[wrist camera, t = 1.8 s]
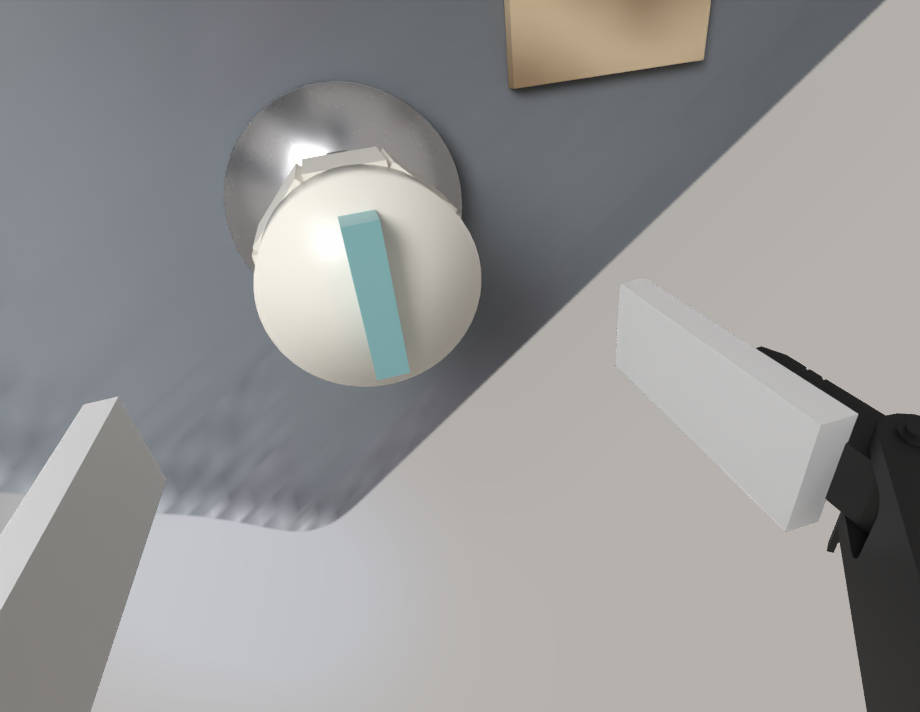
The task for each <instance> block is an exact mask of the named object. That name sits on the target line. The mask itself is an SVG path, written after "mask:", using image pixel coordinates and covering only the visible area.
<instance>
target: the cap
mask: <svg viewBox="0 0 920 712" xmlns="http://www.w3.org/2000/svg"><path fill="white" fill-rule="evenodd" d="M252 249H253V252H252V259H253V261H254V264H255V271H254V296H255V303H256V307H257V310H258V314H259V317H260V319H261V322H262V324H263V326H264V328H265V330H266V332H267V334H268V335H269V337H270V338H271V340H272V341H273V343H274V344H275V345H276V346H277V347H278V349H279V350H280V351H281V352H282V353H283V354H284V355H285V356H286V357H287V358H288V359H289V360H291V361H292V362H293V363H294V364H296V365H297V366H299V367H300V368H302V369H303V370H305V371H307V372H309V373H310V374H312V375H314V376H316V377H319V378H321V379H324V380H327V381H330V382H334V383H337V384H341V385H348V386H358V387H372V386H383V385H388V384H394V383H397V382H401V381H404V380H407V379H410V378H412V377H414V376H417V375H419V374H421V373H423V372H424V371H426V370H428V369H430V368H431V367H433V366H434V365H436V364H437V363H438V362H440V361H441V360H442V359H443V358H445V357H446V356H447V355H448V354H449V353H450V352H451V351H452V350H453V349H454V348H455V347H456V345H457V344H458V343H459V342H460V340H461V339H462V338H463V336H464V335H465V333H466V332H467V330H468V328H469V326H470V324H471V322H472V321H473V318H474V315H475V313H476V310H477V307H478V303H479V299H480V292H481V266H480V260H479V255H478V252H477V249H476V246H475V243H474V241H473V239H472V237H471V234H470V232H469V231H468V229H467V227H466V226H465V224H464V223H463V221H462V220H461V215H460V214H459V213H458V212H457V209H456V207H455V206H454V205H453V204H452V203H451V202H450V201H449V200H448V199H447V198H446V197H445V196H444V195H443V194H442V193H441V192H440V191H438V190H437V189H436V188H435V187H433V186H432V185H431V184H429V183H428V182H427V181H425V180H424V179H423V178H421V177H420V176H419V175H417V174H416V173H415V172H413V171H412V170H411V169H409V168H408V167H407V166H406V165H404V164H403V163H402V162H400V161H399V160H398V159H396V158H395V157H394V156H392V155H391V154H390V153H388V152H387V151H386V150H384V149H382V150H381V152H380V151H379V150H378V148H377V147H370V148H364V149H358V150H352V151H346V152H340V153H334V154H328V155H321V156H315V157H309V158H303V159H302V166H300V165H299V164H297V163H295V165H294V167H293V168H292V170H291V171H290V173H289V175H288V176H287V178H286V180H285V181H284V183H283V185H282V186H281V188H280V190H279V191H278V193H277V195H276V196H275V198H274V200H273V201H272V203H271V205H270V206H269V208H268V210H267V211H266V213H265V215H264V216H263V218H262V219H261V221H260V223H259V224H258V228H257V232H256V236H255V240H254V244H253V248H252Z"/></svg>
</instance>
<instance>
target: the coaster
mask: <svg viewBox="0 0 920 712" xmlns="http://www.w3.org/2000/svg"><path fill="white" fill-rule="evenodd" d="M710 5H711V0H504V8H505V27H506V46H507V65H508V83H509V88H512V89H517V88H523V87H530V86H536V85H543V84H549V83H556V82H562V81H569V80H575V79H582V78H588V77H595V76H601V75H608V74H614V73H621V72H627V71H634V70H641V69H647V68H654V67H660V66H667V65H673V64H680V63H686V62H693V61H699V60H704V53H705V45H706V37H707V29H708V21H709V13H710Z"/></svg>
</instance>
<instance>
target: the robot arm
mask: <svg viewBox="0 0 920 712" xmlns="http://www.w3.org/2000/svg"><path fill="white" fill-rule="evenodd" d="M615 363H616V364H615V366H616V367H617V368H618V369H619V370H620V371H621V372H622V373H623V374H625V375H626V376H627V377H628V378H629V379H630V380H631V381H632V382H633V383H634V384H635V385H636V386H637V387H638V388H639V389H640V390H641V391H642V392H643V393H644V394H645V395H646V396H647V397H648V398H649V399H650V400H651V401H652V402H653V403H654V404H655V405H656V406H657V407H658V408H659V409H660V410H661V411H662V412H663V413H664V414H666V416H667V417H668V418H669V419H670V420H672V421H673V422H674V423H675V424H676V425H677V426H678V427H679V428H680V429H681V430H682V431H683V432H684V433H685V434H686V435H687V436H688V437H689V438H690V439H691V440H692V441H693V442H694V443H695V444H696V445H697V446H698V447H699V448H700V449H701V450H702V451H703V452H704V453H705V454H706V455H707V456H708V457H709V458H710V459H711V460H712V461H713V462H714V463H716V464H717V466H718V467H719V468H720V469H722V470H723V472H725V473H726V474H727V475H728V476H729V477H730V478H731V479H732V480H733V481H734V482H735V483H736V484H737V485H738V486H739V487H740V488H741V489H742V490H743V491H744V492H745V493H746V494H747V495H748V496H749V497H750V498H751V499H752V500H753V501H754V502H755V503H756V504H757V505H758V506H759V507H760V508H761V509H762V510H763V511H764V512H765V513H766V514H767V515H768V516H770V518H771V519H772V520H773V521H775V522H776V523H777V524H778V525H779V526H780V527H781V528H782V529H783V530H784V531H785V532H788V531H791V530H794V529H797V528H800V527H803V526H806V525H809V524H812V523H815V522H818V520H819V518H820V515H821V512H822V510H823V507H824V504H825V502H826V499H827V500H828V501H829V502H830V503H831V504H832V505H834V506H835V507H836V508H837V509H838V510H840V511H841V513H840V515H839V517H838V520H837V522H836V525H835V527H834V530H833V532H832V535H831V537H830V540H829V542H828V547H827V551H829V552H834V550H835V548H836V545H837V543H839V542H840V547H841V553H842V558H843V565H844V572H845V578H846V584H847V590H848V596H849V603H850V609H851V615H852V621H853V627H854V634H855V640H856V646H857V652H858V659H859V665H860V671H861V677H862V683H863V689H864V696H865V702H866V708H867V712H920V416H918V415H914V414H892V415H887V416H885V415H884V414H882V413H880V412H879V411H877V410H875V409H874V408H872V407H870V406H869V405H867V404H866V403H864V402H862V401H861V400H859V399H857V398H856V397H854V396H853V395H851V394H849V393H848V392H846V391H844V390H843V389H841V388H839V387H837V386H836V385H834V384H833V383H831V382H829V381H828V380H823V379H822V377H821V376H820V375H818V374H816V373H815V372H813V371H812V370H807V369H806V367H805V366H803V365H802V364H800V363H799V362H797V361H795V360H794V359H792V358H790V357H788V356H787V355H785V354H782V353H779V352H776V351H773V350H770V349H767V348H764V347H758V348H754V347H753V346H751V345H749V344H748V343H746V342H745V341H743V340H742V339H740V338H738V337H737V336H735V335H734V334H732V333H731V332H729V331H727V330H726V329H724V328H723V327H721V326H720V325H718V324H717V323H715V322H713V321H712V320H710V319H709V318H707V317H706V316H704V315H702V314H701V313H699V312H697V311H696V310H695V309H693V308H691V307H690V306H688V305H687V304H685V303H684V302H682V301H680V300H679V299H677V298H676V297H674V296H673V295H671V294H669V293H668V292H666V291H665V290H663V289H662V288H660V287H659V286H657V285H655V284H654V283H652V282H651V281H649V280H647V279H646V278H641V279H636V280H632V281H627V282H623V283H620V289H619V309H618V326H617V344H616V362H615ZM165 483H166V478H165V476H164V475H163V473H162V471H161V469H160V468H159V466H158V464H157V462H156V461H155V459H154V457H153V456H152V454H151V452H150V450H149V449H148V447H147V445H146V443H145V442H144V440H143V438H142V436H141V435H140V433H139V431H138V430H137V428H136V426H135V424H134V423H133V421H132V419H131V417H130V416H129V414H128V412H127V411H126V409H125V407H124V405H123V404H122V402H121V400H120V398H119V397H115V398H110V399H106V400H101V401H97V402H93V403H88V404H84V405H83V406H82V408H81V410H80V411H79V413H78V414H77V416H76V417H75V419H74V421H73V422H72V424H71V425H70V427H69V428H68V430H67V431H66V433H65V435H64V436H63V438H62V439H61V441H60V442H59V444H58V446H57V447H56V449H55V450H54V452H53V453H52V455H51V456H50V458H49V460H48V461H47V463H46V464H45V466H44V467H43V469H42V471H41V472H40V474H39V475H38V477H37V478H36V480H35V481H34V483H33V485H32V486H31V488H30V489H29V491H28V492H27V494H26V496H25V497H24V499H23V500H22V502H21V503H20V505H19V506H18V508H17V510H16V511H15V513H14V514H13V516H12V518H11V519H10V521H9V522H8V524H7V525H6V527H5V528H4V530H3V532H2V533H1V535H0V712H90V711H91V708H92V705H93V702H94V699H95V696H96V693H97V690H98V687H99V684H100V681H101V678H102V674H103V672H104V668H105V665H106V663H107V660H108V656H109V653H110V650H111V647H112V644H113V641H114V638H115V635H116V632H117V629H118V626H119V623H120V620H121V617H122V613H123V611H124V607H125V605H126V601H127V599H128V595H129V592H130V589H131V586H132V583H133V580H134V577H135V574H136V571H137V568H138V565H139V562H140V559H141V556H142V553H143V549H144V547H145V544H146V540H147V538H148V534H149V531H150V528H151V525H152V522H153V519H154V516H155V513H156V510H157V507H158V504H159V501H160V498H161V495H162V492H163V489H164V486H165Z"/></svg>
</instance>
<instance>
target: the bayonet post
mask: <svg viewBox="0 0 920 712" xmlns="http://www.w3.org/2000/svg"><path fill="white" fill-rule="evenodd" d="M370 147H377V148H378V150H379V151H380V152H381V150H382V149H384V150H386V151H387V152H388V153H390V154H391V155H392V156H394V157H395V158H396V159H398V160H399V161H400V162H402V163H403V164H404V165H406V166H407V167H408V168H409V169H411V170H412V171H413V172H415V173H416V174H417V175H419V176H420V177H421V178H423V179H424V180H425V181H427V182H428V183H429V184H431V185H432V186H433V187H435V188H436V189H437V190H438V191H440V192H441V193H442V194H443V195H444V196H445V197H446V198H447V199H448V200H449V201H450V202H451V203H452V204H453V205H454V206H455V207H456V209H457V212H458V213H459V214H460V215H461V216H462V193H461V187H460V181H459V176H458V173H457V170H456V167H455V163H454V161H453V159H452V157H451V154H450V152H449V150H448V148H447V146H446V145H445V143H444V142H443V140H442V138H441V137H440V135H439V134H438V133H437V131H436V130H435V129H434V128H433V126H432V125H431V124H430V123H429V122H428V121H427V120H426V119H425V118H424V117H423V116H422V115H421V114H420V113H419V112H418V111H416V110H415V109H414V108H412V107H411V106H410V105H408V104H407V103H405V102H404V101H402V100H400V99H399V98H397V97H395V96H393V95H391V94H389V93H387V92H385V91H383V90H380V89H378V88H375V87H372V86H370V85H365V84H361V83H356V82H350V81H337V80H336V81H321V82H316V83H311V84H306V85H303V86H300V87H297V88H295V89H292V90H290V91H287V92H286V93H284V94H282V95H280V96H279V97H277V98H275V99H274V100H272V101H271V102H270V103H269V104H267V105H266V106H265V107H264V108H262V109H261V110H260V111H259V112H258V113H257V115H256V116H255V117H254V118H253V119H252V120H251V121H250V122H249V124H248V125H247V127H246V128H245V130H244V131H243V133H242V134H241V136H240V137H239V139H238V141H237V143H236V145H235V147H234V149H233V151H232V153H231V156H230V160H229V163H228V166H227V170H226V176H225V184H224V206H225V213H226V220H227V223H228V227H229V230H230V234H231V236H232V239H233V241H234V243H235V246H236V248H237V250H238V252H239V253H240V255H241V257H242V258H243V260H244V262H245V263H246V265H247V266H248V267H249V268H250V270H251V271H252V272H253V274H254V271H255V264H254V261H253V259H252V252H253V249H252V248H253V244H254V240H255V236H256V232H257V228H258V224H259V223H260V221H261V219H262V218H263V216H264V215H265V213H266V211H267V210H268V208H269V206H270V205H271V203H272V201H273V200H274V198H275V196H276V195H277V193H278V191H279V190H280V188H281V186H282V185H283V183H284V181H285V180H286V178H287V176H288V175H289V173H290V171H291V170H292V168H293V167H294V165H295V163H297V164H299V165H300V166H302V159H303V158H309V157H315V156H321V155H328V154H334V153H340V152H346V151H352V150H358V149H364V148H370Z"/></svg>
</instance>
